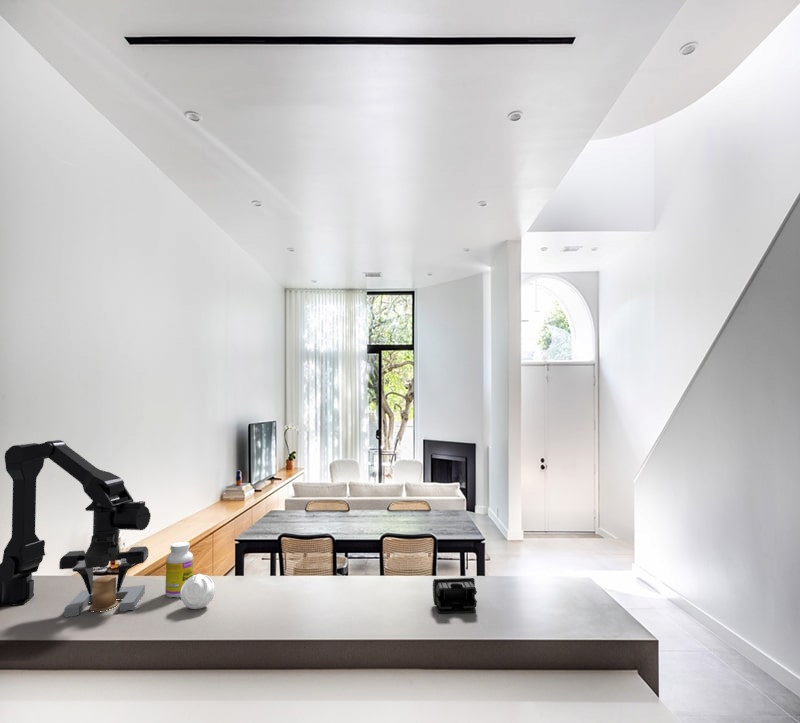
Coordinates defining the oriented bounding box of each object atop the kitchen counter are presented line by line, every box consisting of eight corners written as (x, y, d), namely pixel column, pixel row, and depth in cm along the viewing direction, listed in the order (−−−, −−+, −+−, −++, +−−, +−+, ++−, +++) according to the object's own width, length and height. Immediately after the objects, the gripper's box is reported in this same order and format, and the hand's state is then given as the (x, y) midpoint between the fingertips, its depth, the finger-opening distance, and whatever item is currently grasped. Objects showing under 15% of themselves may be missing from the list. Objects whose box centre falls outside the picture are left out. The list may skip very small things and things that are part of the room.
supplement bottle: (182, 599, 137) (183, 548, 138) (159, 597, 139) (160, 547, 140) (197, 590, 144) (198, 541, 145) (175, 588, 145) (176, 540, 146)
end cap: (472, 601, 135) (472, 574, 135) (478, 613, 127) (478, 584, 128) (432, 603, 134) (432, 575, 134) (436, 614, 127) (436, 585, 127)
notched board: (64, 617, 127) (64, 608, 127) (81, 598, 139) (82, 590, 139) (133, 610, 131) (133, 602, 131) (144, 592, 142) (144, 585, 142)
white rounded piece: (175, 614, 128) (176, 581, 128) (185, 602, 136) (186, 571, 136) (210, 613, 129) (210, 580, 129) (218, 601, 136) (218, 569, 137)
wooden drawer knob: (86, 614, 129) (87, 584, 129) (94, 605, 135) (95, 576, 135) (113, 611, 130) (114, 582, 131) (120, 602, 136) (121, 574, 137)
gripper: (51, 539, 124) (48, 609, 123) (139, 534, 128) (137, 601, 127) (68, 528, 135) (67, 591, 134) (149, 523, 139) (148, 585, 138)
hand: (104, 592), depth 133 cm, fingers open, 6 cm apart
